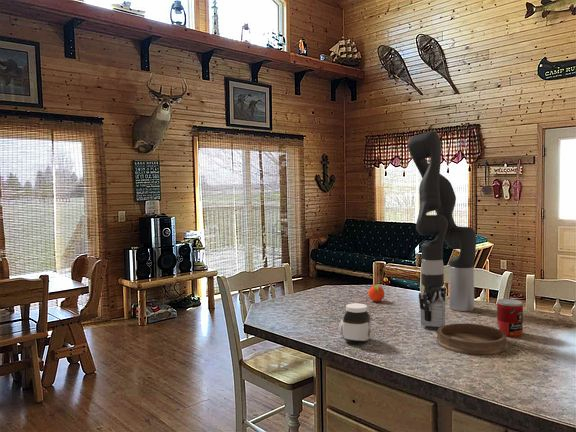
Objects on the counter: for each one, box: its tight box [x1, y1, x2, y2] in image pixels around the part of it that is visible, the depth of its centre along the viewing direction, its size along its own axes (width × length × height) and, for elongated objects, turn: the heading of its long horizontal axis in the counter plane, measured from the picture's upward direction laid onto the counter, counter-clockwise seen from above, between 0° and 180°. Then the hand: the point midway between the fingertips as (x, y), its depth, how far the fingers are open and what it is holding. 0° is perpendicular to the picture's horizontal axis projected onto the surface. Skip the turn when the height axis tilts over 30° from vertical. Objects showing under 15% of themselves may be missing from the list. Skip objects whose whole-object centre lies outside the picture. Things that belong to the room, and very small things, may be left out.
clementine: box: [367, 284, 385, 303], centre depth 208 cm, size 8×7×7 cm
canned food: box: [496, 298, 524, 338], centre depth 159 cm, size 8×8×11 cm
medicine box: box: [420, 300, 446, 328], centre depth 168 cm, size 8×4×9 cm, turn 65°
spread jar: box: [337, 302, 372, 345], centre depth 158 cm, size 12×11×12 cm
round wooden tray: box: [436, 323, 509, 356], centre depth 151 cm, size 21×21×4 cm
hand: (433, 319), depth 168 cm, fingers closed on medicine box, 5 cm apart
